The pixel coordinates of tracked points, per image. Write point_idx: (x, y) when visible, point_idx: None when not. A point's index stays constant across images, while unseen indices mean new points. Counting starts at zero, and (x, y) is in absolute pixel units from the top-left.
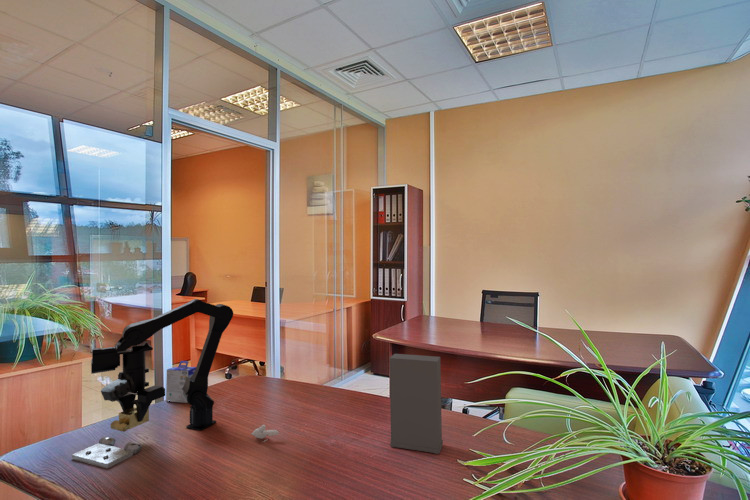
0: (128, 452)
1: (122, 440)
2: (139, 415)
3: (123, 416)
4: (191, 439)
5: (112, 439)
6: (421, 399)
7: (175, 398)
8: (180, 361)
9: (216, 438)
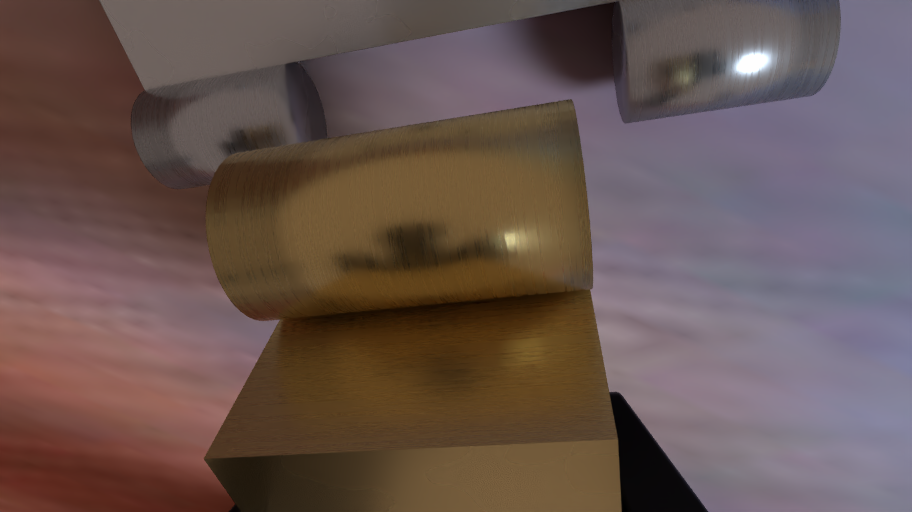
0: (141, 42)
1: (658, 200)
2: (235, 507)
3: (433, 397)
4: (152, 423)
5: (625, 91)
6: None
7: None
8: None
9: (56, 474)
